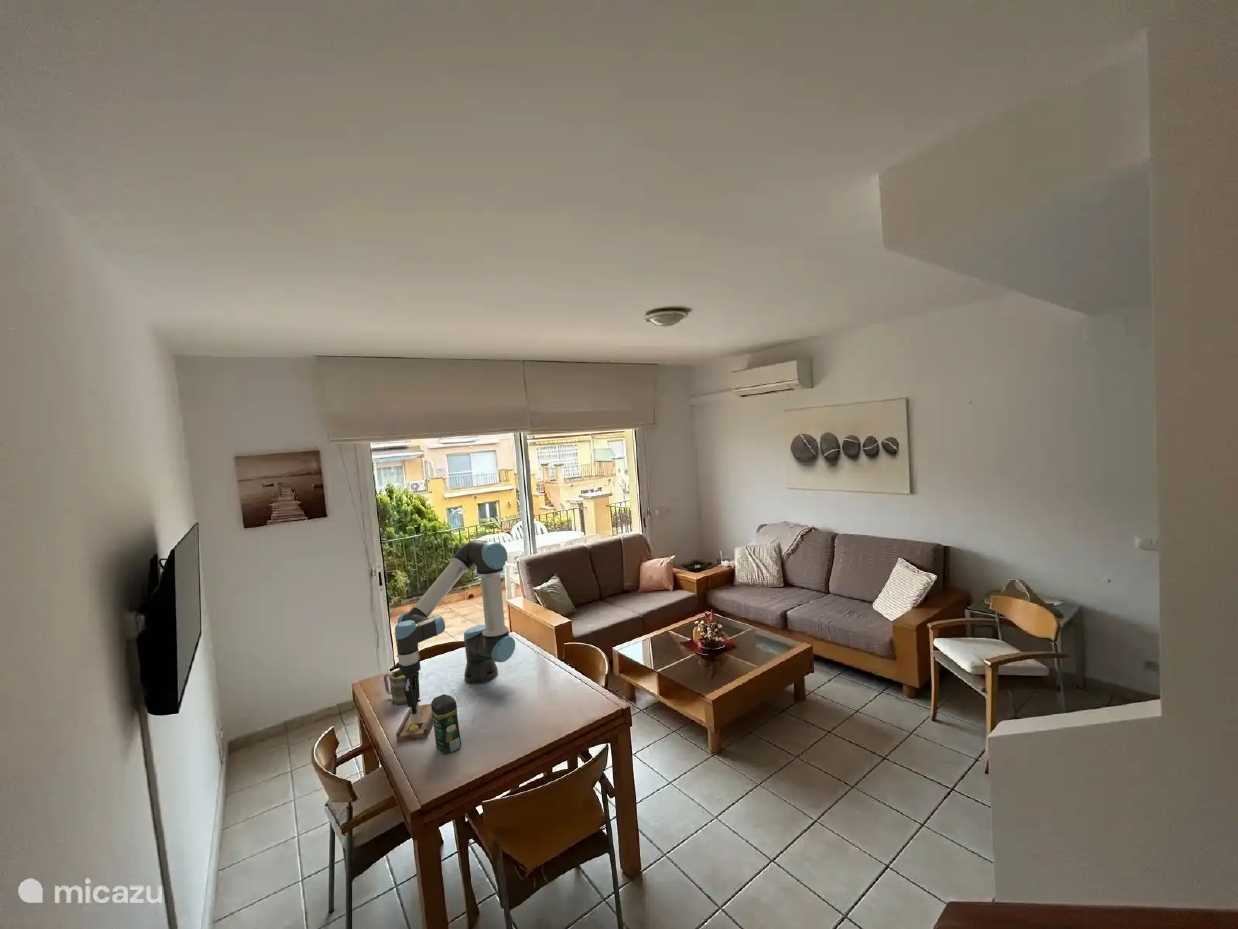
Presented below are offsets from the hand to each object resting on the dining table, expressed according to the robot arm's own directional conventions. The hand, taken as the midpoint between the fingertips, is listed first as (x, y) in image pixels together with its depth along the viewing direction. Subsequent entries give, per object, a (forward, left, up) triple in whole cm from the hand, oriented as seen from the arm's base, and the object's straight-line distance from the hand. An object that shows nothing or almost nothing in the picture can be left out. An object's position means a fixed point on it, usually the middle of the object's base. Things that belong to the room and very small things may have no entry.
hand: (416, 720), depth 204 cm
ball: (0, +3, -2) cm, 4 cm away
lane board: (0, -3, -4) cm, 5 cm away
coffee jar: (-15, +16, -4) cm, 22 cm away
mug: (+14, -27, -4) cm, 31 cm away
